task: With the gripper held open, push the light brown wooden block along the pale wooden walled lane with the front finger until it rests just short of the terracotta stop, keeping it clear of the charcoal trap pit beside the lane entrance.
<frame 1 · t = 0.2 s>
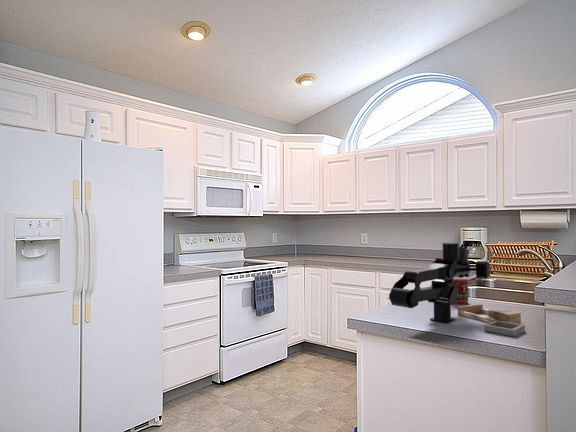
hand: (473, 267, 165), 17 cm above the table, tool horizontal, fingers open, 9 cm apart
light brown wooden block: (504, 322, 144), on the table
wooden lane: (485, 317, 152), on the table
canned food: (458, 303, 178), on the table
trap pit: (504, 331, 132), on the table
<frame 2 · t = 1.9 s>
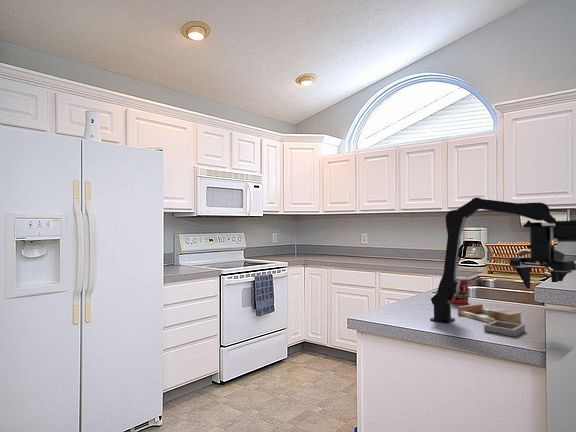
hand: (541, 290, 131), 13 cm above the table, tool pointing down, fingers open, 9 cm apart
nothing on the table moved.
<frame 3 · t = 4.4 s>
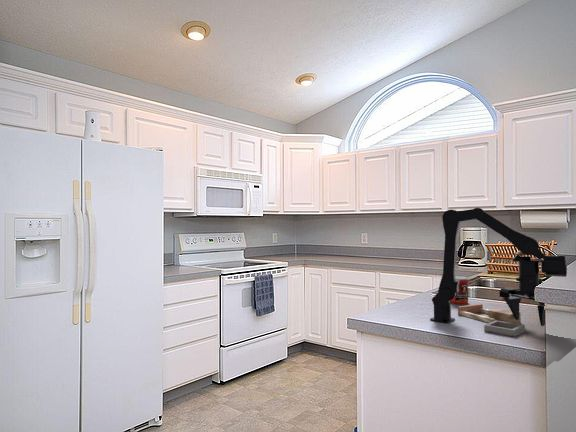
hand: (529, 322, 135), 2 cm above the table, tool pointing down, fingers open, 9 cm apart
light brown wooden block: (504, 322, 144), on the table, touching gripper
everything else where it was.
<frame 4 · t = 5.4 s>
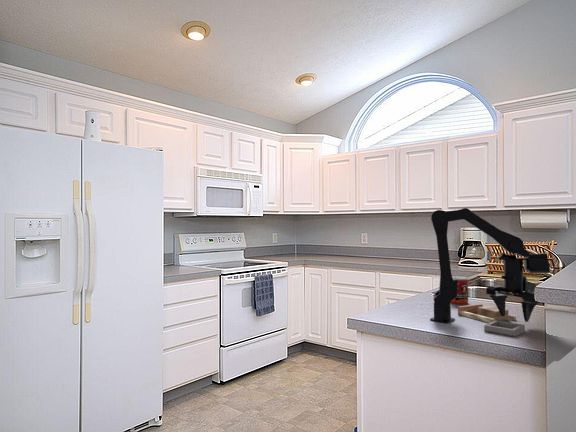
hand: (514, 318, 140), 2 cm above the table, tool pointing down, fingers open, 9 cm apart
light brown wooden block: (493, 319, 149), on the table, touching gripper
everything else where it was.
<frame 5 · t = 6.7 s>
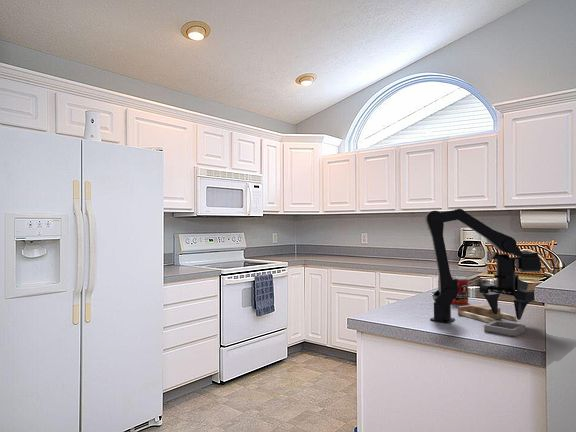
hand: (507, 316, 143), 2 cm above the table, tool pointing down, fingers open, 9 cm apart
light brown wooden block: (485, 317, 152), on the table
everything else where it was.
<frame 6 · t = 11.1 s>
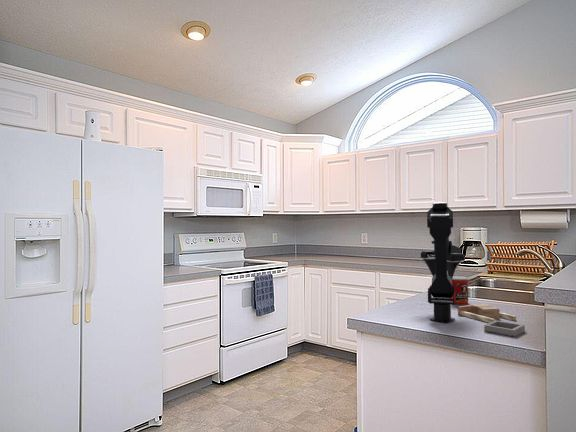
hand: (442, 277, 165), 13 cm above the table, tool pointing down, fingers open, 9 cm apart
at the end: light brown wooden block 0.7 cm from the wooden lane (horizontally); light brown wooden block tilted 0°; light brown wooden block touching table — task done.
